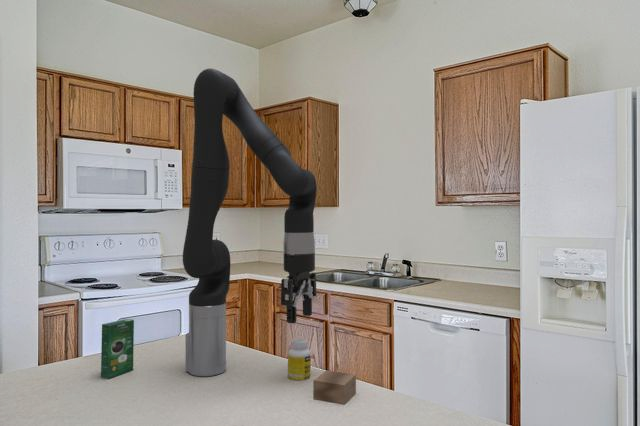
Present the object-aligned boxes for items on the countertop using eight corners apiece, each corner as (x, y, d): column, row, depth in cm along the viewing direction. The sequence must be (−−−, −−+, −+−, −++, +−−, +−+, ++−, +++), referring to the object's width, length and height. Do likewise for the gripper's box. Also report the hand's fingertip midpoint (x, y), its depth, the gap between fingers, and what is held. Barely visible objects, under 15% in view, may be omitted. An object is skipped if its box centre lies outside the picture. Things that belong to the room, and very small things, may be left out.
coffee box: (126, 368, 127) (126, 317, 127) (134, 369, 125) (134, 318, 125) (100, 377, 119) (100, 323, 119) (108, 379, 118) (108, 325, 118)
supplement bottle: (307, 386, 114) (307, 344, 114) (285, 384, 115) (285, 342, 115) (312, 378, 120) (312, 338, 120) (291, 376, 121) (291, 336, 121)
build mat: (292, 402, 105) (292, 396, 105) (316, 383, 116) (316, 379, 116) (346, 411, 100) (346, 406, 100) (365, 391, 111) (365, 386, 111)
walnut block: (313, 399, 103) (313, 380, 103) (326, 388, 110) (326, 370, 110) (344, 404, 101) (344, 385, 101) (355, 393, 107) (355, 374, 107)
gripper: (298, 248, 125) (298, 312, 125) (270, 253, 112) (271, 324, 112) (325, 249, 122) (325, 314, 122) (300, 254, 109) (300, 327, 109)
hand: (299, 319), depth 117 cm, fingers open, 8 cm apart
